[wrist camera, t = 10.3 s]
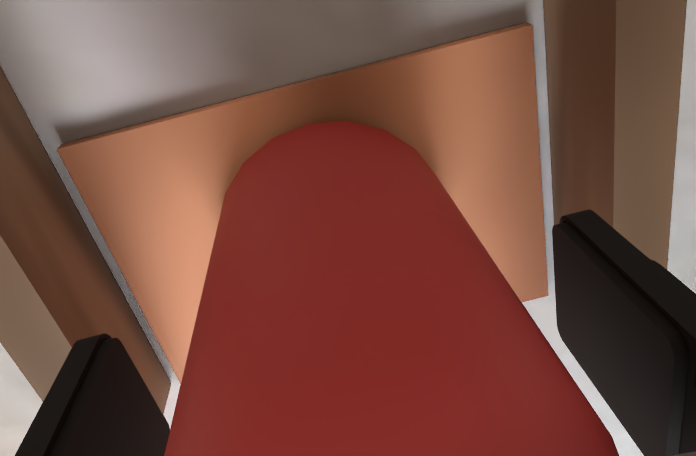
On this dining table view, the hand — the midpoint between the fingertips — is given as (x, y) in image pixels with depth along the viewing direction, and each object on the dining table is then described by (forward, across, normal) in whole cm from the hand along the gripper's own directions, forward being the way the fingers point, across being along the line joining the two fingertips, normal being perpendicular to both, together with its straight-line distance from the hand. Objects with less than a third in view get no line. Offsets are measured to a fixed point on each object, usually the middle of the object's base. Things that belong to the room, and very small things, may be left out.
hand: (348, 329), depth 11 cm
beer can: (+6, 0, 0) cm, 6 cm away
